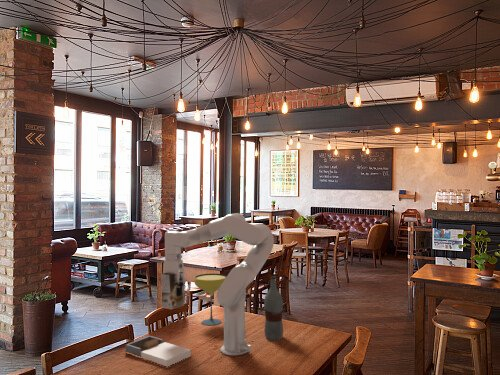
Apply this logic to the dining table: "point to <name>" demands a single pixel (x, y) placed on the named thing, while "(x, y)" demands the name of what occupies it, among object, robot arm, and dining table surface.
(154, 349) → the white flat block
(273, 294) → the bottle
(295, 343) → the dining table surface
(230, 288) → the robot arm
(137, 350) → the tray
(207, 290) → the cocktail glass
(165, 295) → the coffee box
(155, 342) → the tile
